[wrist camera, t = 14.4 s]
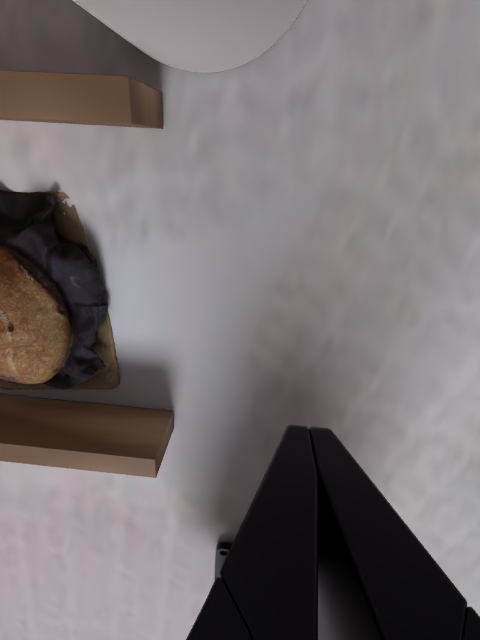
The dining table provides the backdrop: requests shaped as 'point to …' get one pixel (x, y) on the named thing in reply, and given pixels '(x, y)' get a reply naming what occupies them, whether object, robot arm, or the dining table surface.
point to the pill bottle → (198, 29)
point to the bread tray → (69, 416)
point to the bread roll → (51, 299)
